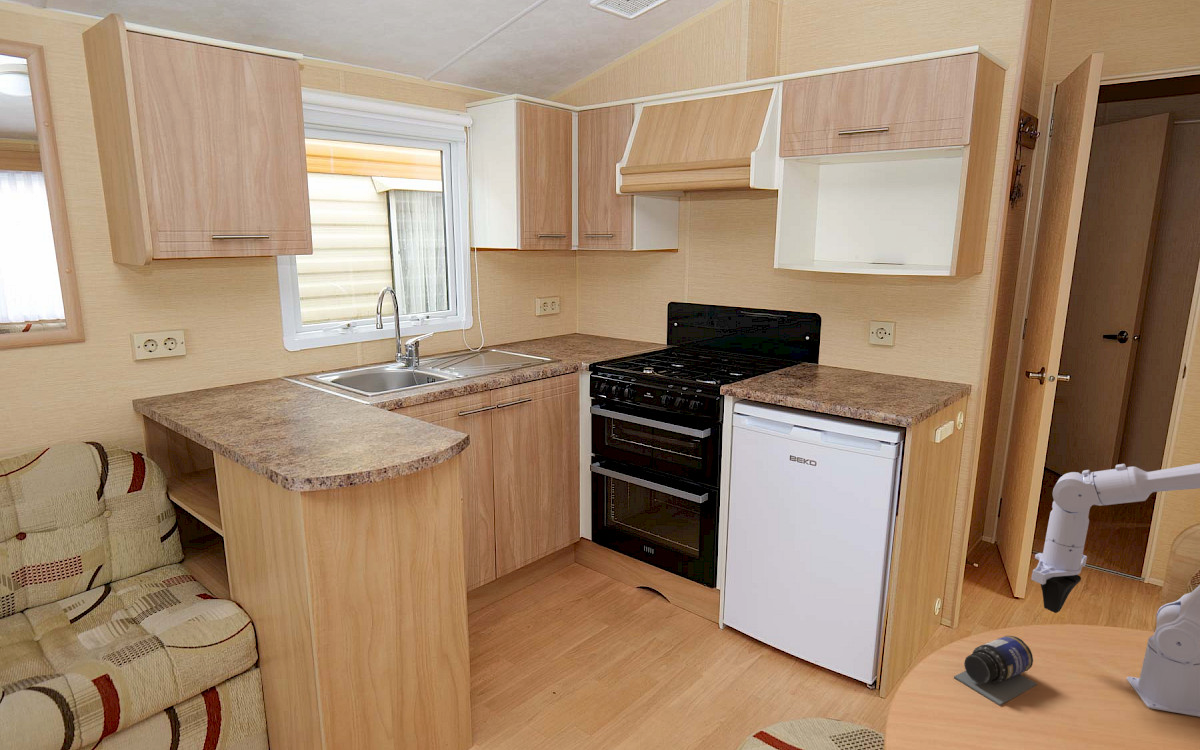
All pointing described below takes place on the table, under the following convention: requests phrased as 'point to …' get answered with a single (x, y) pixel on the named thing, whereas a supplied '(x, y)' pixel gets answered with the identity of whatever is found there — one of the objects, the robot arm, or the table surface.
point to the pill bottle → (998, 660)
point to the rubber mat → (998, 687)
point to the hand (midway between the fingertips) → (1051, 609)
